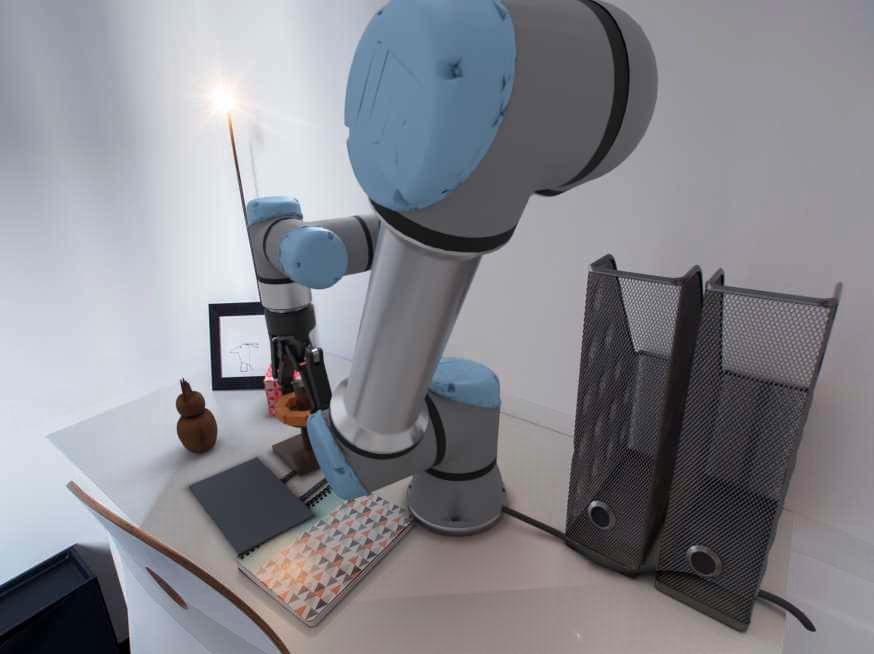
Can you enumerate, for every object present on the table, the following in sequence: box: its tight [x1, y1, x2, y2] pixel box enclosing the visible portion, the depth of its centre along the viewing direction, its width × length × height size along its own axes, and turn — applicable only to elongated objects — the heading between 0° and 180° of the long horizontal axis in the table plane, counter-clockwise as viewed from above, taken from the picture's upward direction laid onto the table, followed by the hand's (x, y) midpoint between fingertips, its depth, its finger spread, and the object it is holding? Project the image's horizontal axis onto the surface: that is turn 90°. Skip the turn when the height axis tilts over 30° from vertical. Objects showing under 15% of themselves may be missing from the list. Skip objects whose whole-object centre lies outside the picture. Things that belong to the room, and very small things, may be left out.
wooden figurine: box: [175, 377, 219, 455], centre depth 93 cm, size 7×6×15 cm
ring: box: [274, 392, 311, 427], centre depth 90 cm, size 9×9×2 cm
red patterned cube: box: [263, 362, 306, 417], centre depth 108 cm, size 8×8×8 cm
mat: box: [188, 457, 316, 556], centre depth 83 cm, size 20×12×1 cm, turn 40°
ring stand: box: [271, 381, 321, 478], centre depth 91 cm, size 10×10×14 cm
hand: (307, 428), depth 92 cm, fingers closed on ring, 9 cm apart
